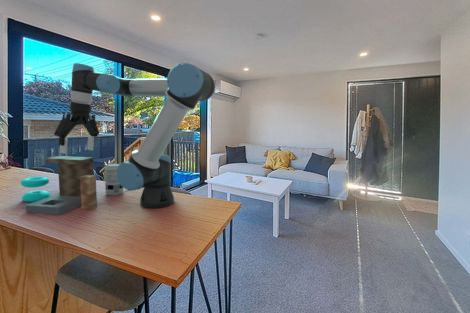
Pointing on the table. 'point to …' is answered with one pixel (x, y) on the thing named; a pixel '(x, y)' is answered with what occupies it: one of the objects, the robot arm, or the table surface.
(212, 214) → the table surface
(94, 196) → the peg
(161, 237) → the table surface
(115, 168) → the supplement can
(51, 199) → the socket
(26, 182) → the donuts
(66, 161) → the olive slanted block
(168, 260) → the table surface
